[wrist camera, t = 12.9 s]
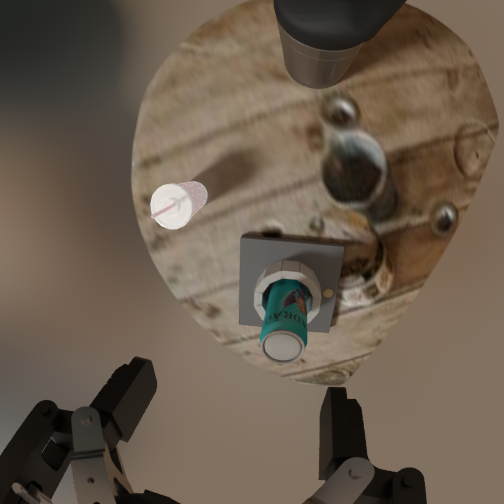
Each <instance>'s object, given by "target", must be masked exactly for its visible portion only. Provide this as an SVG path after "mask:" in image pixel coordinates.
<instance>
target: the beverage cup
mask: <svg viewBox="0 0 504 504" xmlns="http://www.w3.org/2000/svg"><path fill="white" fill-rule="evenodd" d="M207 198H208V197H207V191H206V188H205V187H204V186H203V185H202V184H201V183H199V182H196V181H192V182H185V183H180V184H165V185H163V186H161V187H160V188H158V189H157V190H156V191H155V193H154V194H153V195H152V199H151V203H150V204H151V212H152V215H151V218H155V220H156V221H157V222H158V223H159V224H160V225H161V226H163V227H165V228H167V229H178V228H180V227H183V226H185V225H186V224H187V223H188V221H189V220H190V219H191V218H192V216H193V215H194V214H195V213H196V212H197V211H198V210H199V209H201V208H202V207H203V206H204V204H205V203H206V201H207Z"/></svg>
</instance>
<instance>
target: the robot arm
mask: <svg viewBox="0 0 504 504" xmlns="http://www.w3.org/2000/svg"><path fill="white" fill-rule="evenodd" d="M406 1H407V0H274V9H275V14H276V19H277V24H278V28H279V33H280V38H281V44H282V49H283V55H284V61H285V66H286V69H287V71H288V73H289V74H290V75H291V77H292V78H293V79H294V80H296V81H297V82H298V83H300V84H302V85H304V86H306V87H309V88H315V89H323V88H328V87H331V86H333V85H335V84H336V83H338V82H339V81H340V80H341V79H342V78H343V76H344V74H345V73H346V71H347V70H348V68H349V67H350V65H351V64H352V62H353V61H354V59H355V57H356V56H357V54H358V53H359V51H360V50H361V48H362V46H363V45H364V43H365V42H367V41H369V40H370V39H372V38H373V37H374V36H375V35H376V34H377V32H378V31H379V30H380V29H381V28H382V27H383V25H384V24H385V23H386V22H387V21H388V20H389V19H390V18H391V17H392V16H393V15H394V14H395V13H396V12H397V11H398V10H399V9H400V8H401V6H402V5H403V4H404V3H405V2H406ZM156 388H157V380H156V376H155V373H154V368H153V364H152V361H151V360H148V359H144V358H141V357H137V356H136V357H134V358H133V359H132V361H131V362H130V363H129V365H127V364H124V365H122V366H121V367H119V368H118V369H116V370H115V372H114V373H113V374H112V376H111V378H110V379H109V380H108V381H107V383H106V385H104V387H103V388H102V389H101V391H100V392H99V393H98V395H97V396H96V398H95V399H94V400H93V402H92V403H91V404H90V405H89V406H84V407H80V408H78V409H76V410H75V411H68V410H61V409H59V408H58V407H57V405H56V404H55V403H54V402H53V401H50V400H43V401H40V402H39V403H38V404H37V405H36V406H35V407H34V408H33V410H32V411H31V412H30V414H29V415H28V416H27V418H26V419H25V421H24V422H23V423H22V425H21V426H20V428H19V429H18V431H17V432H16V433H15V435H14V436H13V438H12V439H11V441H10V442H9V443H8V445H7V447H6V448H5V449H4V451H3V452H2V454H1V455H0V504H53V503H52V501H51V499H52V496H53V495H54V493H55V491H56V488H57V487H58V485H59V483H60V481H61V479H62V477H63V475H64V473H65V472H66V470H67V468H68V466H69V464H70V462H71V468H72V474H73V480H74V485H75V490H76V495H77V500H78V504H180V503H178V502H176V501H175V500H173V499H171V498H169V497H166V496H164V495H160V494H157V493H154V492H151V491H149V490H145V491H144V493H134V492H133V490H132V487H131V485H130V483H129V482H128V480H127V477H126V474H125V471H124V467H123V464H122V460H121V457H120V453H119V449H118V446H117V444H118V442H119V440H122V441H125V442H128V441H129V439H130V438H131V436H132V434H133V432H134V430H135V428H136V426H137V425H138V423H139V421H140V419H141V417H142V416H143V414H144V412H145V410H146V408H147V407H148V405H149V403H150V401H151V400H152V398H153V396H154V394H155V392H156ZM50 438H51V440H50ZM49 440H50V441H49ZM48 441H49V442H48ZM47 443H48V444H47ZM46 444H47V446H46ZM45 446H46V447H45ZM44 447H45V449H44ZM366 448H367V447H366V439H365V430H364V423H363V416H362V410H361V407H360V405H359V403H358V402H357V400H356V399H347V393H346V388H345V387H328V389H327V392H326V395H325V398H324V401H323V404H322V407H321V411H320V448H319V480H325V483H324V484H323V485H322V486H321V487H320V488H319V489H318V490H317V491H316V492H315V493H314V495H312V496H311V497H310V498H308V499H307V500H306V501H305V502H303V503H302V504H427V501H426V490H425V482H424V477H423V475H422V473H421V472H420V471H419V470H417V469H415V468H404V469H401V470H400V471H398V472H392V471H387V470H382V469H379V468H377V467H375V466H374V465H373V464H372V463H371V462H370V461H369V459H368V456H367V449H366ZM43 449H44V451H43ZM42 451H43V452H42Z"/></svg>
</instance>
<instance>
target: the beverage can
mask: <svg viewBox="0 0 504 504" xmlns="http://www.w3.org/2000/svg"><path fill="white" fill-rule="evenodd" d="M260 343H261V350H262V353H263V355H264V356H265V357H266V358H267V359H269V360H270V361H272V362H275V363H278V364H289V363H292V362H295V361H297V360H298V359H299V358H300V357H301V356H302V355H303V353H304V350H305V347H306V345H307V292H306V288H305V286H304V285H303V284H302V283H301V282H299V281H298V280H295V279H284V278H282V279H280V280H278V281H277V282H275V283H274V284H273V286H272V288H271V290H270V295H269V299H268V304H267V309H266V313H265V318H264V322H263V326H262V331H261V335H260Z"/></svg>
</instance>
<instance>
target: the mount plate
mask: <svg viewBox="0 0 504 504" xmlns="http://www.w3.org/2000/svg"><path fill="white" fill-rule="evenodd" d="M344 249H345V247H344V244H339V243H329V242H318V241H307V240H295V239H284V238H272V237H260V236H248V235H242V236H241V239H240V288H239V324H242V325H250V326H259V327H262V326H263V322H264V318H265V313H266V309H267V304H268V299H269V295H270V290H271V288H272V286H273V284H274V283H275V282H277V281H278V280H280V279H282V278H284V279H295V280H298V281H299V282H301V283H302V284H303V285H304V286H305V288H306V292H307V331H311V332H324V333H329V330H330V325H331V320H332V316H333V311H334V306H335V301H336V296H337V290H338V285H339V279H340V273H341V268H342V261H343V255H344Z"/></svg>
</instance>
